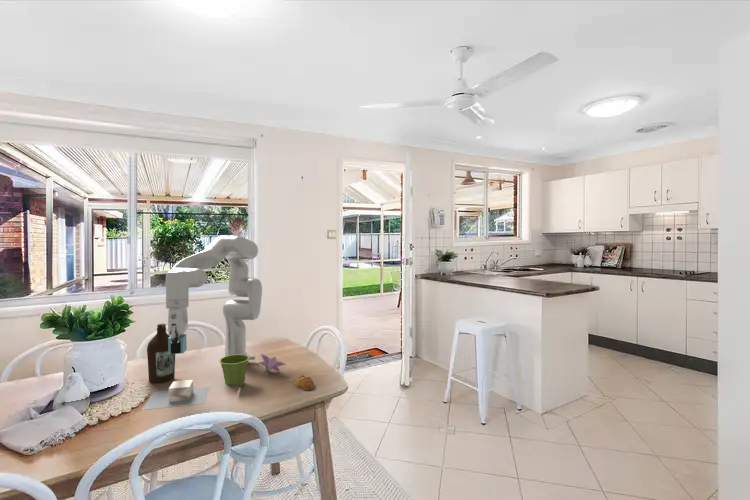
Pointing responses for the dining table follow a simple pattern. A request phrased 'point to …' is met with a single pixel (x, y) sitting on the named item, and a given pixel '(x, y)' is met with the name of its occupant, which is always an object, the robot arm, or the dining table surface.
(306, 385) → the pastry
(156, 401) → the slate board
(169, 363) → the olive oil
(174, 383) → the cream base block
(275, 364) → the lily
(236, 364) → the plant pot
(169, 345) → the teal block
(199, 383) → the dining table surface
